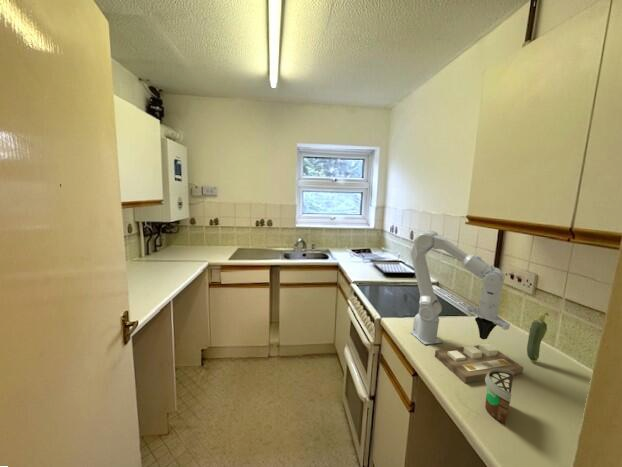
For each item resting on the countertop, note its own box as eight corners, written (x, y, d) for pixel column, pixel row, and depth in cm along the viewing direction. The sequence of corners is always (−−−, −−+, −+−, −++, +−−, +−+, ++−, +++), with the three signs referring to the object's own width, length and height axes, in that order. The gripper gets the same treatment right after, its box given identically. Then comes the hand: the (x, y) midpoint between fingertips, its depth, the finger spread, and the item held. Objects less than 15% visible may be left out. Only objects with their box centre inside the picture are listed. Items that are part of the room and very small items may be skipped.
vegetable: (521, 358, 101) (531, 308, 98) (528, 356, 103) (539, 306, 99) (534, 365, 97) (545, 313, 94) (542, 363, 99) (553, 312, 95)
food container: (483, 391, 83) (489, 361, 82) (508, 401, 80) (514, 371, 78) (477, 415, 74) (483, 383, 72) (504, 429, 70) (511, 395, 68)
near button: (446, 357, 98) (447, 351, 97) (455, 356, 99) (456, 350, 98) (455, 364, 94) (456, 358, 94) (464, 363, 95) (465, 357, 95)
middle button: (463, 352, 99) (464, 346, 99) (472, 351, 100) (473, 345, 100) (472, 359, 96) (473, 353, 95) (481, 358, 97) (482, 352, 96)
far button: (478, 350, 101) (479, 344, 101) (487, 349, 102) (488, 343, 102) (487, 357, 97) (489, 351, 97) (496, 356, 98) (497, 350, 98)
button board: (434, 356, 99) (435, 349, 99) (486, 349, 106) (487, 343, 105) (465, 383, 86) (466, 375, 86) (522, 373, 92) (523, 366, 92)
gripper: (463, 295, 101) (458, 329, 103) (501, 313, 87) (494, 351, 90) (477, 294, 103) (472, 327, 105) (516, 310, 90) (509, 348, 92)
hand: (483, 338), depth 98 cm, fingers closed
